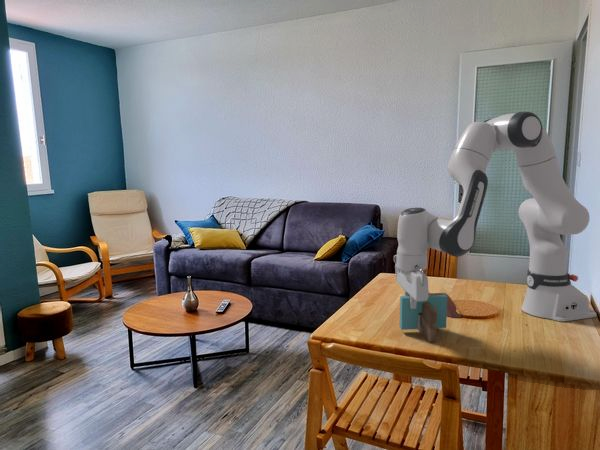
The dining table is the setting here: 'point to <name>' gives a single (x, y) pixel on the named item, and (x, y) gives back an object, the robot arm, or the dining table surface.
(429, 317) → the walnut slotted plate
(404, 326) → the teal slotted plate
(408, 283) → the robot arm
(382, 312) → the dining table surface
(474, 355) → the dining table surface
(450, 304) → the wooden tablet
